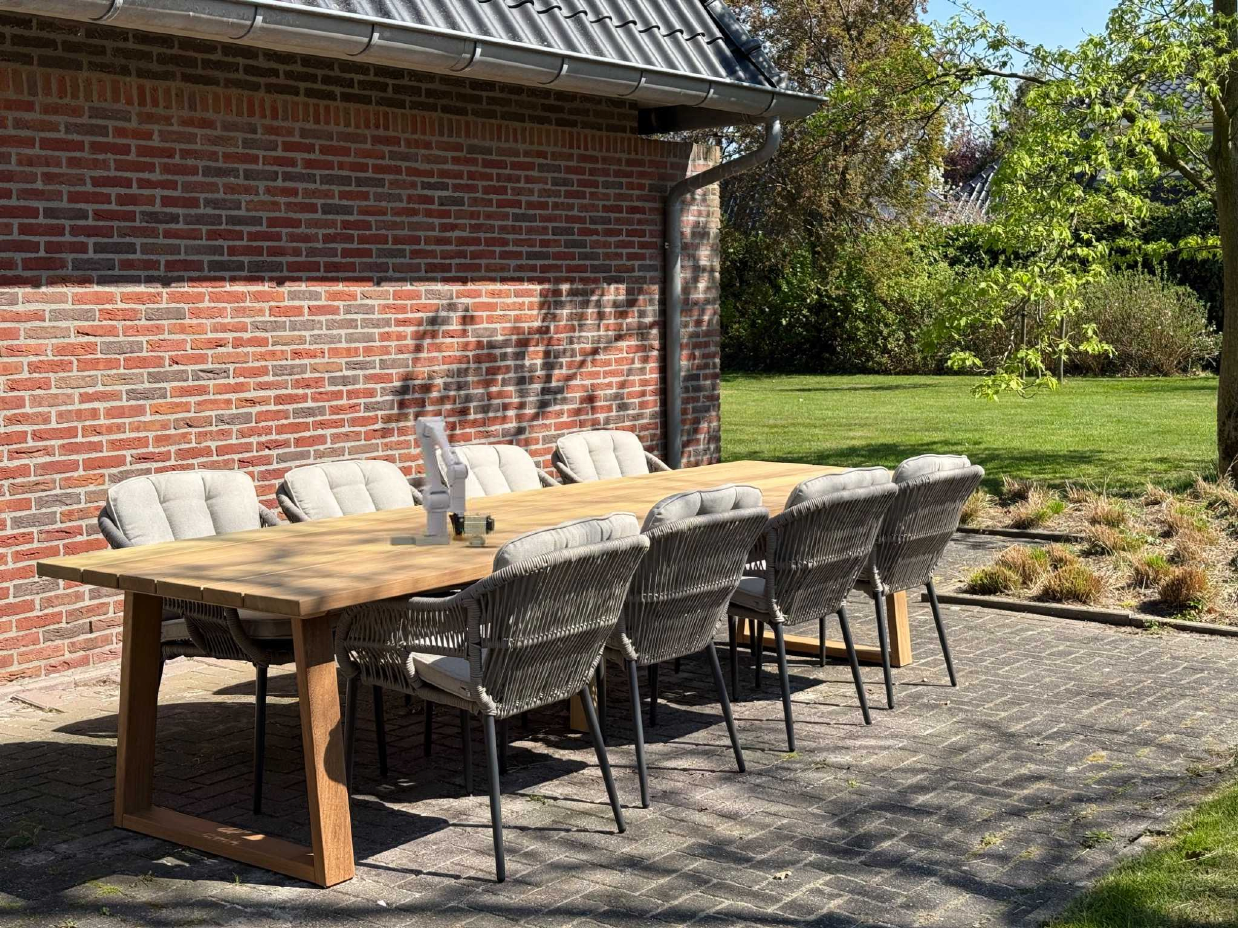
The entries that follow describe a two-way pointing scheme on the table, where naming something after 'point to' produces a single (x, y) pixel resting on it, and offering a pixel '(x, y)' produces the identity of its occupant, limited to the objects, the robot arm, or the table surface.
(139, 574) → the table surface
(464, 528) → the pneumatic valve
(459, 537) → the orange cylinder
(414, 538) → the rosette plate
